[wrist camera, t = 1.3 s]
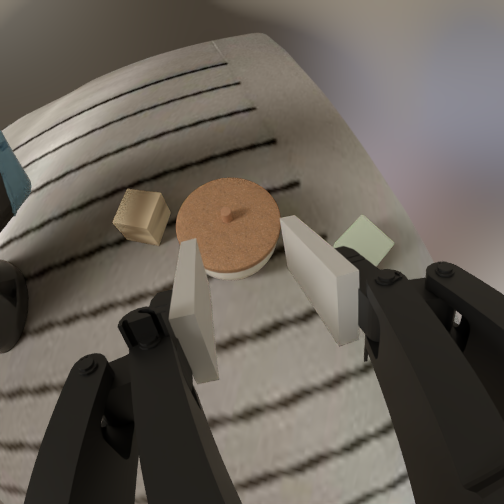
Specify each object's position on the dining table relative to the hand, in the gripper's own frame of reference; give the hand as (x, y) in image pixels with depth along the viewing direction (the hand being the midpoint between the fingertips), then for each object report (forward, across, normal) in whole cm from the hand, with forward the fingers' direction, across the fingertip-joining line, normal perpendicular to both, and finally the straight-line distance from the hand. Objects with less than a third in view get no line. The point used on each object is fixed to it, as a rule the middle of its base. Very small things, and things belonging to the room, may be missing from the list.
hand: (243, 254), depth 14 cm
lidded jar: (+21, 0, -8) cm, 22 cm away
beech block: (+25, -10, -3) cm, 28 cm away
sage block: (+17, +14, -12) cm, 25 cm away
